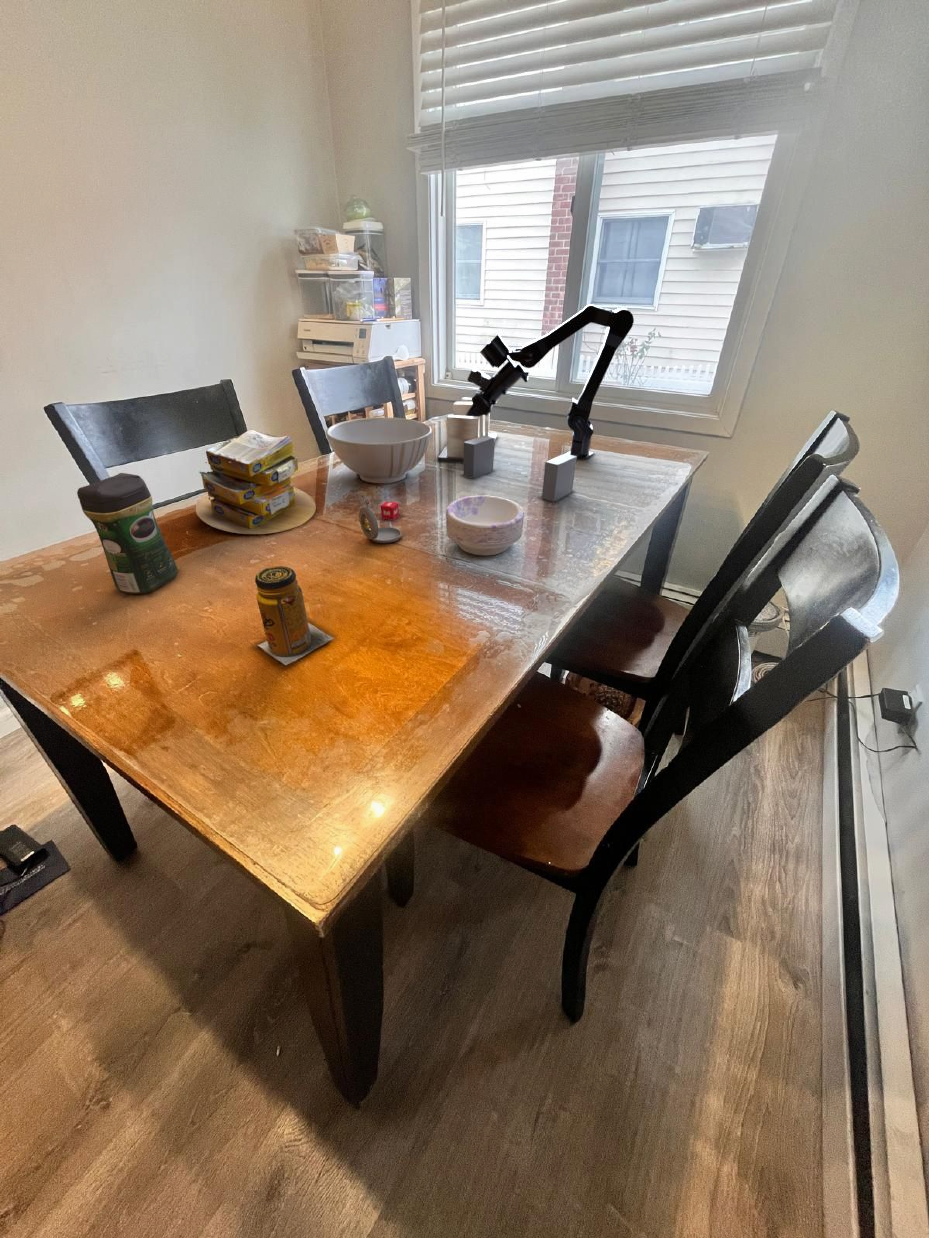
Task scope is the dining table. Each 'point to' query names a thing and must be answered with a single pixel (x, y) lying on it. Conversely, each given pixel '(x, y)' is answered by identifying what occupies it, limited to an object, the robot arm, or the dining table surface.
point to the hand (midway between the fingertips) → (465, 418)
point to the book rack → (462, 435)
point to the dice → (389, 510)
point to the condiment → (285, 616)
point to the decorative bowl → (380, 446)
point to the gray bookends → (555, 473)
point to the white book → (462, 410)
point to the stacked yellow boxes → (253, 486)
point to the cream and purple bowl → (484, 524)
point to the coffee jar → (128, 533)
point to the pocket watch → (376, 526)
